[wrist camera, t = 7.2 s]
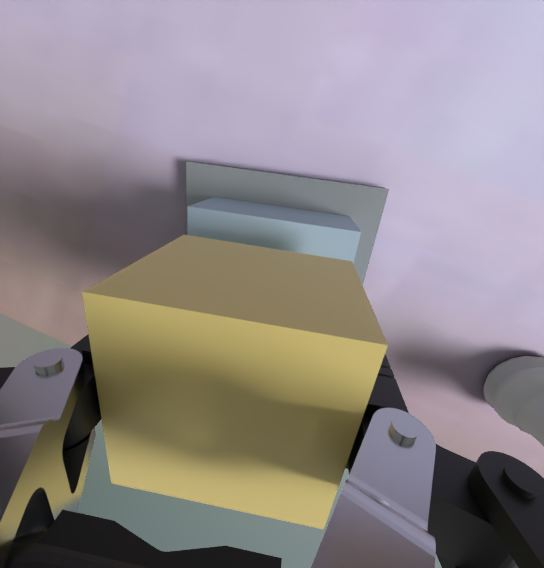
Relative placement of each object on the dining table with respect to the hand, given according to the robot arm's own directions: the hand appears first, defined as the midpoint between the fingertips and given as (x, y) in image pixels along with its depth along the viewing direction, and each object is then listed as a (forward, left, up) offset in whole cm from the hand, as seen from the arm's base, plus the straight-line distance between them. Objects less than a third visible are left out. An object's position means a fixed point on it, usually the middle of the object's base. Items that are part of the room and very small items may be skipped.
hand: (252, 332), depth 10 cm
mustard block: (0, 0, -1) cm, 1 cm away
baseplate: (0, 0, -7) cm, 7 cm away
